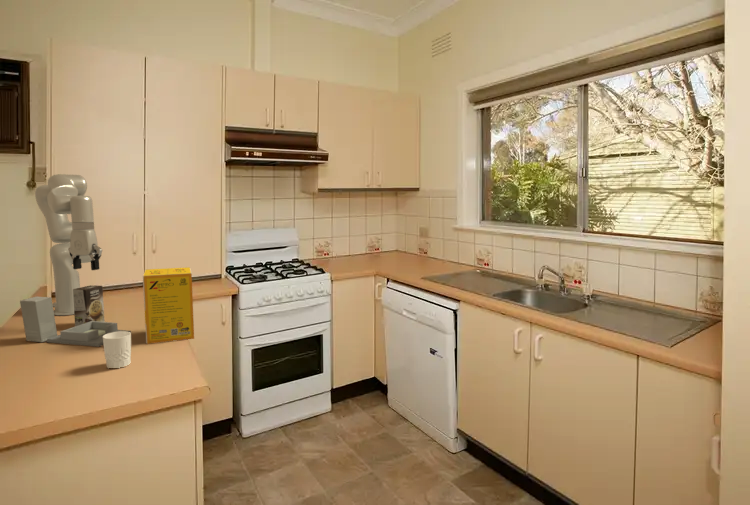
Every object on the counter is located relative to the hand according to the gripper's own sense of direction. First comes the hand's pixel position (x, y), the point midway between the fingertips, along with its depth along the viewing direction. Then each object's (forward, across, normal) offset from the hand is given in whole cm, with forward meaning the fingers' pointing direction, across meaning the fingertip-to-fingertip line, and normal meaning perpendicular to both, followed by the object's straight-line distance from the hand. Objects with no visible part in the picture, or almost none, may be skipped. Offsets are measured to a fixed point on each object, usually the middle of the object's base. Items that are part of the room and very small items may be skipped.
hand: (86, 269), depth 188 cm
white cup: (+25, +47, -29) cm, 61 cm away
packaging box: (+25, +39, +2) cm, 46 cm away
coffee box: (+24, -1, +1) cm, 24 cm away
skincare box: (+24, -2, -19) cm, 31 cm away
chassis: (+24, +13, -11) cm, 30 cm away
